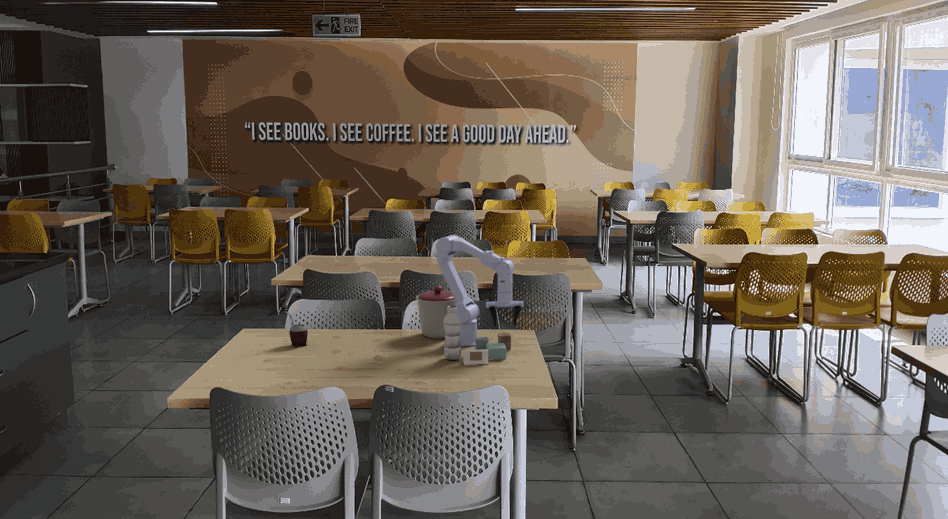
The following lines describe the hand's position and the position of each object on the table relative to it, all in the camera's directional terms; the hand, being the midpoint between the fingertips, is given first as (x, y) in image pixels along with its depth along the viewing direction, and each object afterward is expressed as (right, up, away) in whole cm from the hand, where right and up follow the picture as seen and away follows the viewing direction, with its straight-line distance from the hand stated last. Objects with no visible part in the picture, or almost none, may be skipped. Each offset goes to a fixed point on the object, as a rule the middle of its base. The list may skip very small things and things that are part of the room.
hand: (504, 325), depth 277 cm
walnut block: (0, -9, +2) cm, 9 cm away
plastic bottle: (-20, -12, -13) cm, 26 cm away
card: (-11, -12, -18) cm, 24 cm away
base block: (-4, -11, -9) cm, 15 cm away
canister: (-27, -6, +19) cm, 34 cm away
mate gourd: (-81, -9, +4) cm, 82 cm away
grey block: (-9, -10, -4) cm, 14 cm away
